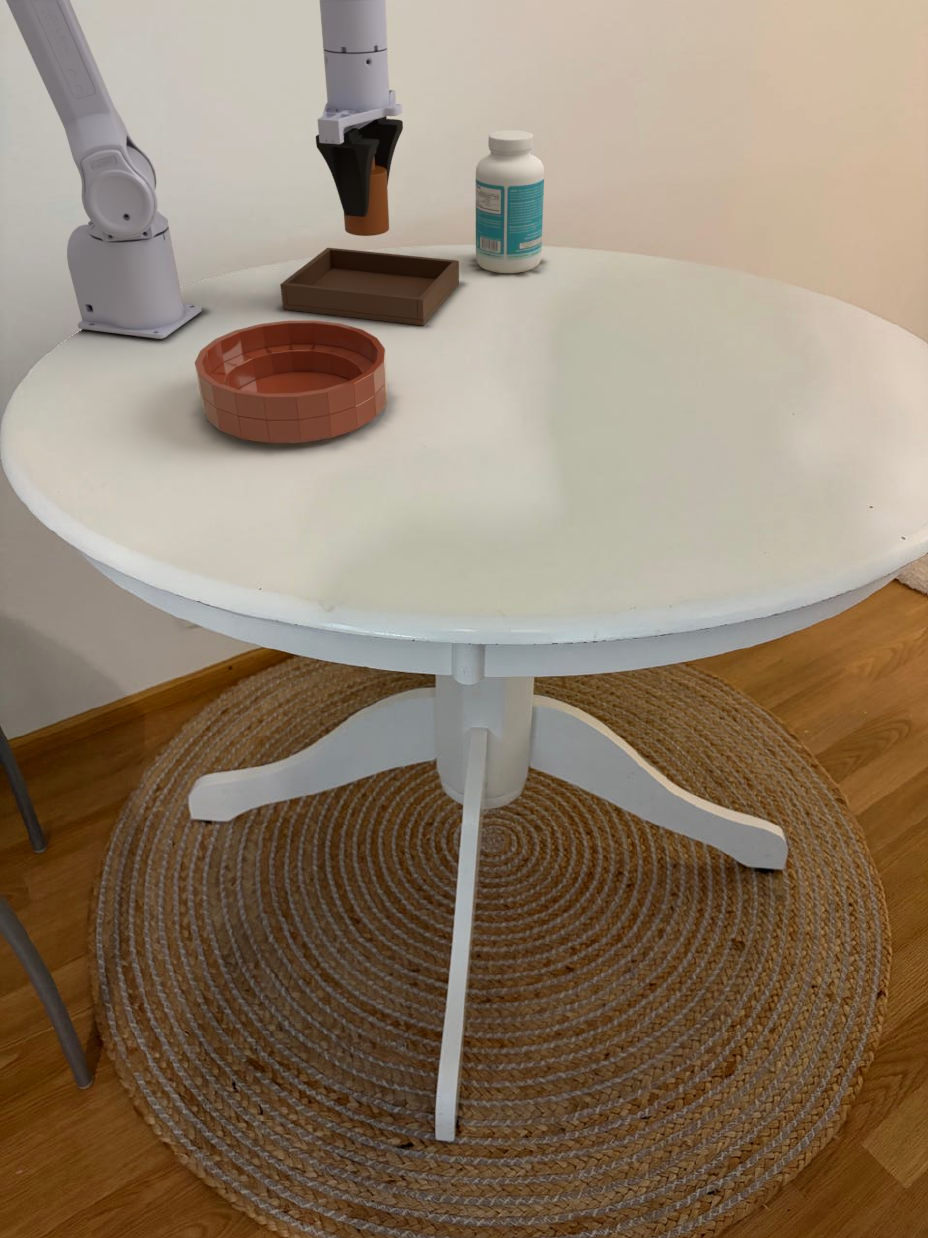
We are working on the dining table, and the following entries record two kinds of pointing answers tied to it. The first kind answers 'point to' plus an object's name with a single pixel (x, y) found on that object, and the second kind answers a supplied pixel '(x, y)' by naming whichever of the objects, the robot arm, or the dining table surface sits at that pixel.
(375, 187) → the bottle
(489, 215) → the pill bottle
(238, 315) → the dining table surface
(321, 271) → the tray
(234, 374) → the bowl
